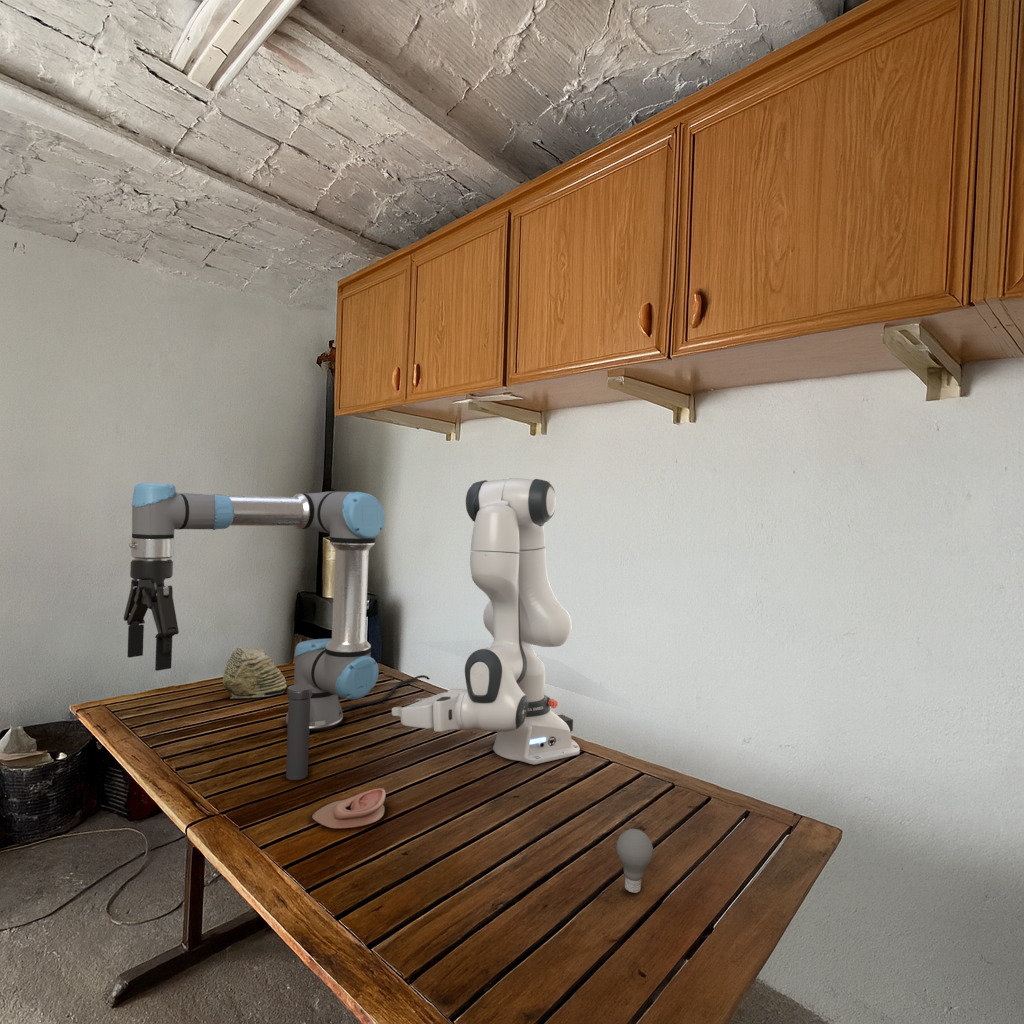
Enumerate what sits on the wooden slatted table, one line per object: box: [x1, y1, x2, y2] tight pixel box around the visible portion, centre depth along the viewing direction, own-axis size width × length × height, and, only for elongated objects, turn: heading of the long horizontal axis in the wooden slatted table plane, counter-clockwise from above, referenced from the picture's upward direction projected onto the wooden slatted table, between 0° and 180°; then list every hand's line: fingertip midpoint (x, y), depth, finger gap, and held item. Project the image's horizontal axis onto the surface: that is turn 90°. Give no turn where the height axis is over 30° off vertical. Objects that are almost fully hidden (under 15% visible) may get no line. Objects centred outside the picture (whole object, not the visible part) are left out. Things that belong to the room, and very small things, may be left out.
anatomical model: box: [311, 787, 387, 829], centre depth 126 cm, size 13×4×12 cm
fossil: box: [222, 646, 288, 699], centre depth 198 cm, size 9×18×15 cm, turn 132°
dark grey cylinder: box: [285, 697, 311, 781], centre depth 143 cm, size 5×5×20 cm
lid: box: [286, 684, 312, 700], centre depth 143 cm, size 5×5×2 cm
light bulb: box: [615, 828, 654, 894], centre depth 106 cm, size 6×6×10 cm
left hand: (148, 662), depth 129 cm, fingers open, 13 cm apart
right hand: (404, 706), depth 147 cm, fingers open, 8 cm apart
